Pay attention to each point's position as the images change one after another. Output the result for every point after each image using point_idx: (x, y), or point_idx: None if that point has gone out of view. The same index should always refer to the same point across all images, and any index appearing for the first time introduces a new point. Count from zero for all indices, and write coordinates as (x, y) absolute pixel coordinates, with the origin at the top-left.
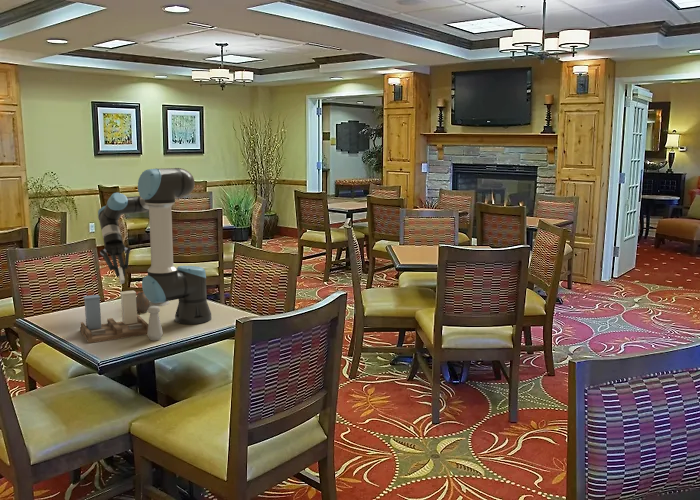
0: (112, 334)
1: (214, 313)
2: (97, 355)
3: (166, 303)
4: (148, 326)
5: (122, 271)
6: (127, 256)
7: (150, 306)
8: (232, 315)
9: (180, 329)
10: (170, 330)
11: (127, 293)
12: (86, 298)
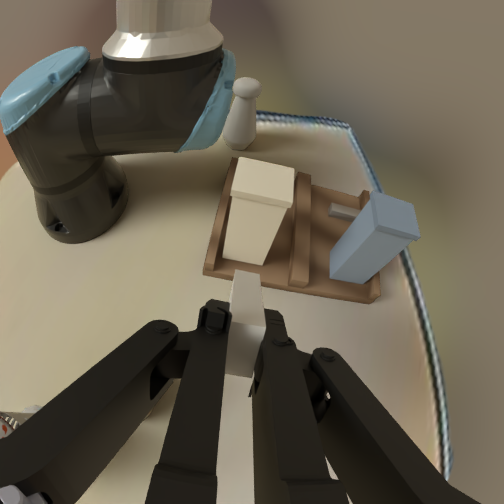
0: (315, 192)
1: (22, 215)
2: (350, 146)
3: (29, 409)
4: (255, 121)
5: (234, 300)
6: (85, 394)
7: (254, 85)
8: (22, 179)
9: (159, 158)
10: (179, 164)
11: (274, 165)
12: (410, 204)
